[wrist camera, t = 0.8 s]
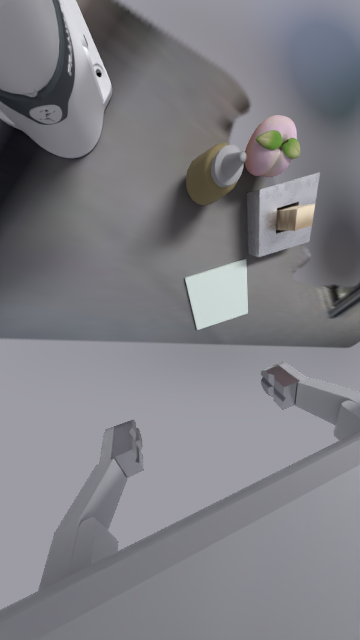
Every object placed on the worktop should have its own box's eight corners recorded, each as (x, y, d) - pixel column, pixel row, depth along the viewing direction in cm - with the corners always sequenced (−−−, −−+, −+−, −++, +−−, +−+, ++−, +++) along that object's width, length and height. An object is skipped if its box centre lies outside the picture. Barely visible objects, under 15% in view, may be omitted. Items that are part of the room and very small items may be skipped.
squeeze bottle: (211, 152, 35) (267, 97, 19) (221, 197, 39) (273, 180, 24) (176, 170, 35) (204, 129, 20) (189, 213, 39) (221, 206, 24)
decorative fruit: (279, 133, 35) (323, 105, 27) (268, 183, 39) (303, 171, 31) (238, 127, 34) (271, 95, 25) (231, 180, 38) (258, 167, 29)
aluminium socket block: (246, 193, 40) (259, 189, 35) (301, 177, 40) (320, 172, 36) (248, 254, 47) (259, 257, 43) (294, 239, 48) (309, 241, 43)
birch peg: (265, 212, 43) (297, 209, 34) (280, 207, 43) (315, 203, 34) (265, 229, 45) (294, 230, 36) (279, 225, 45) (311, 225, 36)
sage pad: (184, 277, 47) (185, 278, 46) (245, 258, 47) (246, 259, 47) (196, 329, 56) (197, 330, 55) (246, 312, 57) (247, 313, 56)
